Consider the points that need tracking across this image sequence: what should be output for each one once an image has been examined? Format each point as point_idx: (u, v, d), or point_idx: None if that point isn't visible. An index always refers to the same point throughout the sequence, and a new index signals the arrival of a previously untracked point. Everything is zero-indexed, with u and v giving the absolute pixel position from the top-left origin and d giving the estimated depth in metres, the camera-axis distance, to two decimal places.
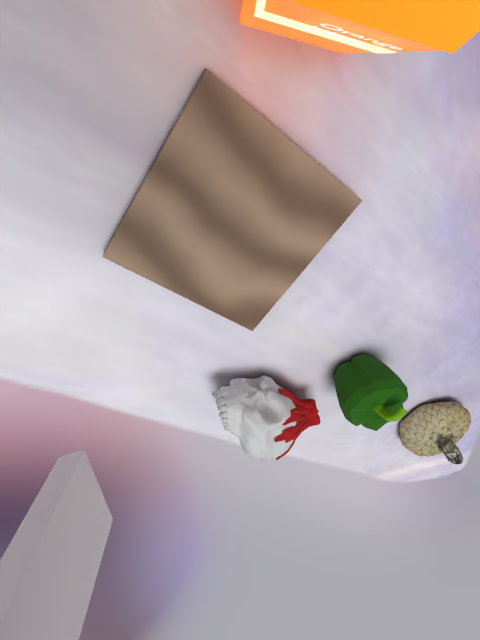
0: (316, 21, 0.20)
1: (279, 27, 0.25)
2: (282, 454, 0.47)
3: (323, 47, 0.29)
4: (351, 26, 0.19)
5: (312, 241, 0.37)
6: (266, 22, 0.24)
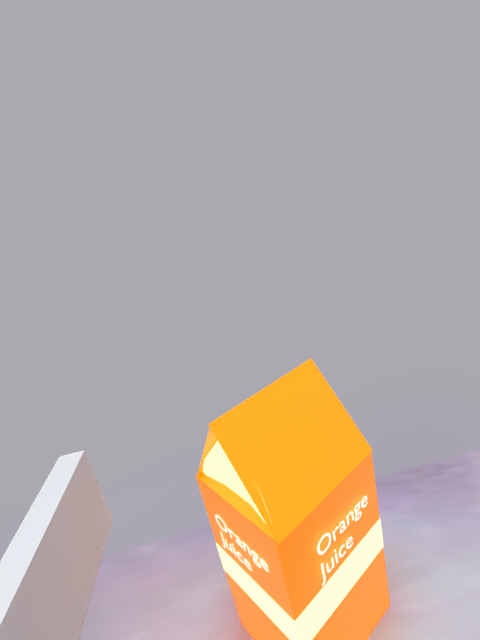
0: (318, 562, 0.21)
1: None
2: None
3: (376, 621, 0.27)
4: (330, 526, 0.21)
5: None
6: None
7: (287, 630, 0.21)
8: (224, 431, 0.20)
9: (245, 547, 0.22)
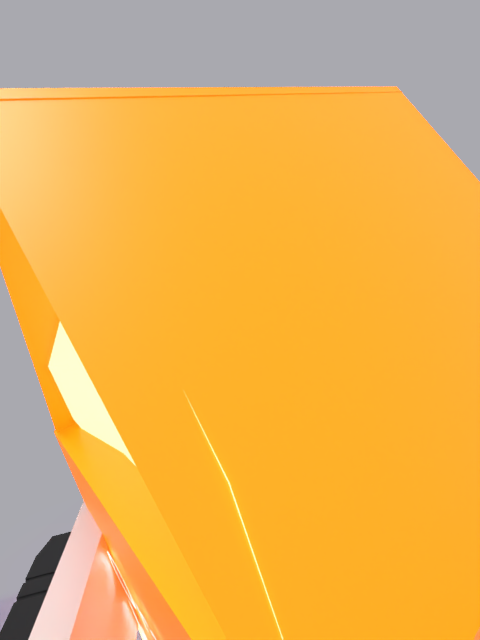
0: None
1: None
2: None
3: None
4: None
5: None
6: None
7: None
8: (36, 142, 0.04)
9: None
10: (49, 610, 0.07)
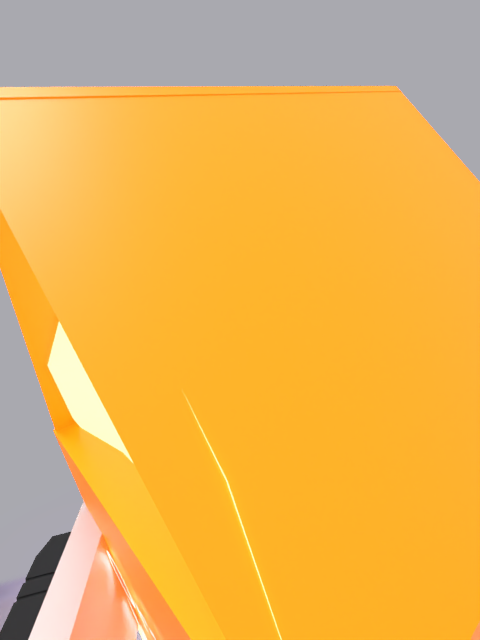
0: None
1: None
2: None
3: None
4: None
5: None
6: None
7: None
8: (35, 140, 0.04)
9: None
10: (49, 610, 0.07)
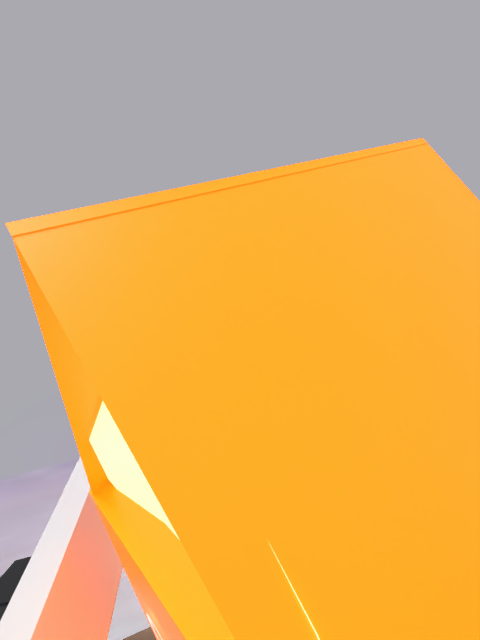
0: None
1: None
2: None
3: None
4: None
5: None
6: None
7: None
8: (101, 268, 0.04)
9: None
10: None
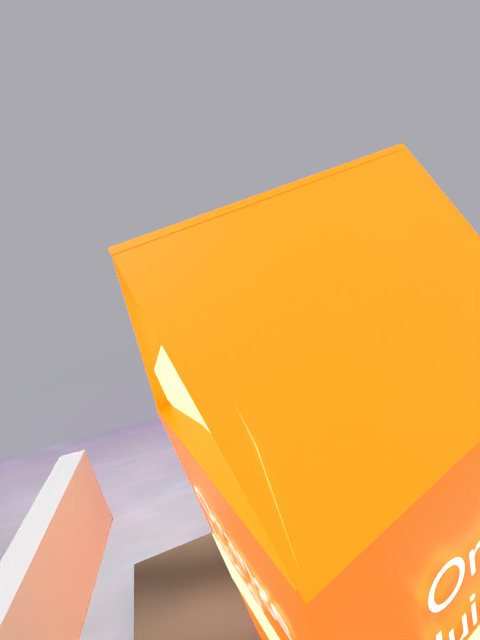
0: (429, 627, 0.08)
1: None
2: None
3: None
4: (460, 537, 0.08)
5: None
6: None
7: None
8: (155, 269, 0.07)
9: (244, 564, 0.10)
10: None
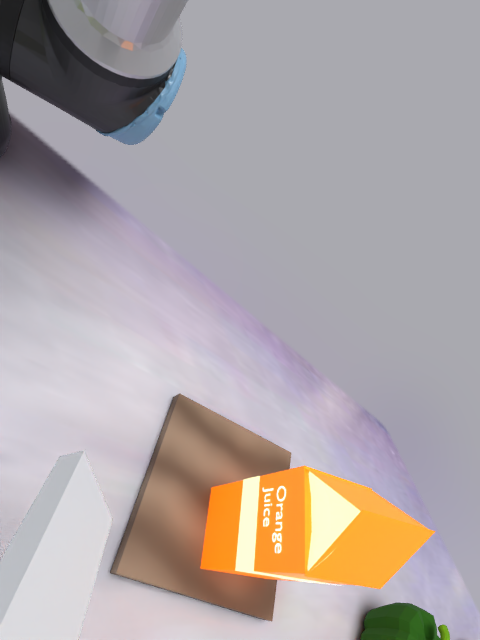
0: (292, 575, 0.30)
1: (242, 572, 0.34)
2: None
3: None
4: None
5: None
6: (236, 571, 0.34)
7: (242, 558, 0.32)
8: (361, 519, 0.25)
9: (278, 524, 0.30)
10: None
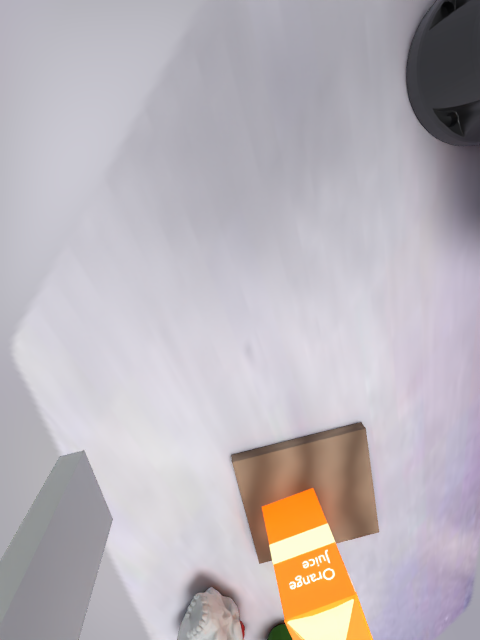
0: None
1: None
2: None
3: None
4: None
5: (339, 534, 0.53)
6: None
7: (277, 548, 0.44)
8: None
9: (307, 579, 0.39)
10: None
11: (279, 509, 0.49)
